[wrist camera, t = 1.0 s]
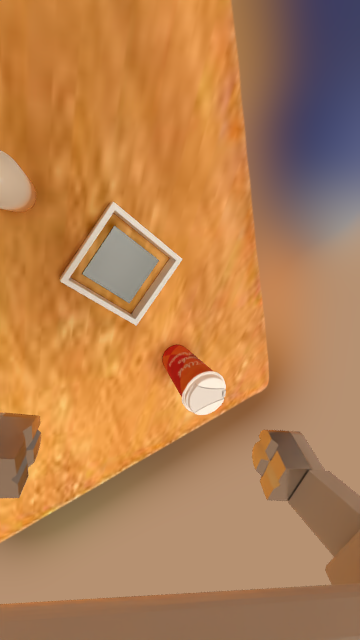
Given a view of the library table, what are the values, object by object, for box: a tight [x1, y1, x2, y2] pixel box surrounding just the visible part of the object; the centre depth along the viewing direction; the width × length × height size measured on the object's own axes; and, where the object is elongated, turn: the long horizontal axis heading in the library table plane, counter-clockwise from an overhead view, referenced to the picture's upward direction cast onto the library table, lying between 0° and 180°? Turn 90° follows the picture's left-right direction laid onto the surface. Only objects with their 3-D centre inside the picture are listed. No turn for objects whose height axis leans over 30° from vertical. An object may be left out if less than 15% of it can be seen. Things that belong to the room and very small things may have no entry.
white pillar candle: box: [0, 150, 36, 212], centre depth 29 cm, size 5×5×12 cm
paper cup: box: [162, 345, 226, 415], centre depth 47 cm, size 8×8×14 cm
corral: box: [60, 202, 182, 326], centre depth 41 cm, size 14×14×3 cm
